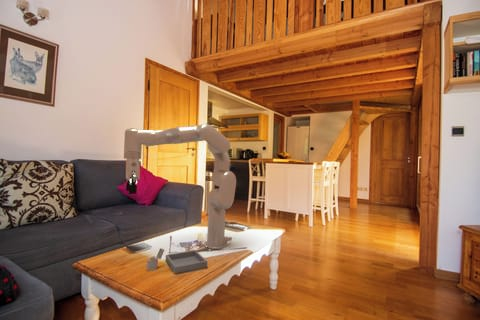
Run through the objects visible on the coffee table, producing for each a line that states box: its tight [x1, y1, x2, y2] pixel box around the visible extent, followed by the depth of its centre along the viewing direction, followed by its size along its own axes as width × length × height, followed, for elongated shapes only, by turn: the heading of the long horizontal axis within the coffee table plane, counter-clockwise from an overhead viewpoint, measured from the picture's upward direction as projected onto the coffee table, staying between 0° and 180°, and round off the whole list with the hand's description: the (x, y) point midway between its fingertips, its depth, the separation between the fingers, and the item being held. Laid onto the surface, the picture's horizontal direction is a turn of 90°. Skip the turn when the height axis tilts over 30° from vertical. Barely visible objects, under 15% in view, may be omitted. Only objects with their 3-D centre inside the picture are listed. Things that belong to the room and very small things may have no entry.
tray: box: [165, 249, 208, 275], centre depth 114 cm, size 15×15×3 cm
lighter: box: [146, 248, 165, 272], centre depth 109 cm, size 7×2×8 cm, turn 136°
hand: (131, 192), depth 117 cm, fingers open, 9 cm apart
